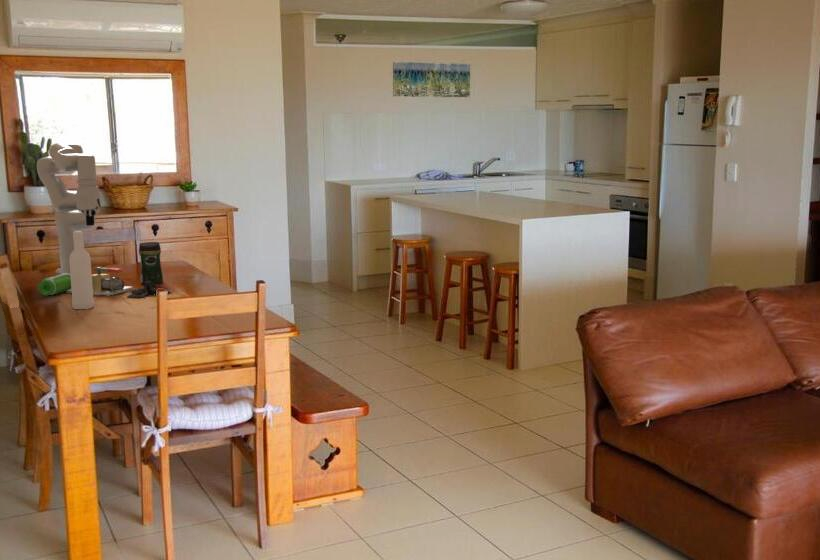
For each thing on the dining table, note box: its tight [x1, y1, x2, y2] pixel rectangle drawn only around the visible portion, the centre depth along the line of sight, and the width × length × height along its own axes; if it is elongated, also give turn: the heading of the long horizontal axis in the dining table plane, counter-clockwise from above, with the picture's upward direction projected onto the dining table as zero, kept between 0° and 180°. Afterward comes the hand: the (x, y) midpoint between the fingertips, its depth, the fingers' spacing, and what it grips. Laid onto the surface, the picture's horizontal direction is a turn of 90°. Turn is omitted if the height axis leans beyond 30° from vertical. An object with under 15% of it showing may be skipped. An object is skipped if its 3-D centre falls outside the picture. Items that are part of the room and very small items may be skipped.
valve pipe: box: [65, 273, 134, 297], centre depth 377 cm, size 23×16×7 cm
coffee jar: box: [138, 241, 164, 285], centre depth 395 cm, size 10×8×19 cm
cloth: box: [126, 281, 173, 299], centre depth 371 cm, size 22×19×6 cm
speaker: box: [38, 273, 71, 296], centre depth 375 cm, size 18×7×8 cm, turn 170°
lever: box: [93, 266, 123, 274], centre depth 374 cm, size 14×4×3 cm, turn 61°
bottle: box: [69, 230, 95, 310], centre depth 341 cm, size 8×8×30 cm
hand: (90, 225), depth 386 cm, fingers closed
